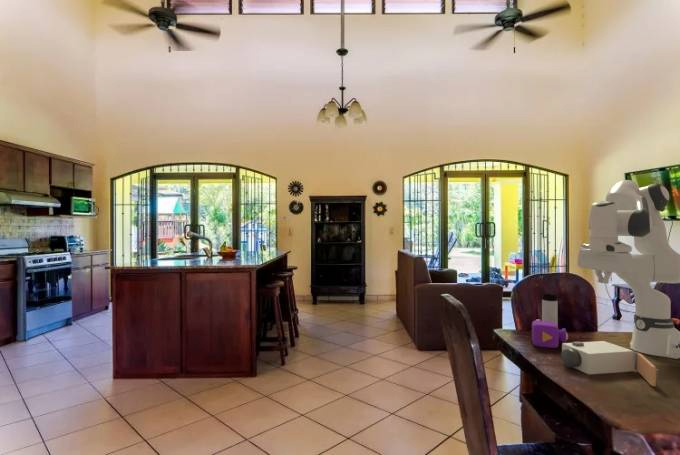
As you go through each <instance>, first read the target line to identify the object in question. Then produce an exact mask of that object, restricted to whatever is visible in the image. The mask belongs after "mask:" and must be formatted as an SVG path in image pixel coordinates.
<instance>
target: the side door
mask: <svg viewBox="0 0 680 455" xmlns="http://www.w3.org/2000/svg"><path fill="white" fill-rule="evenodd" d="M634 370H635V371H637V373H639V375H641V376H642V377H643V378H644V380H646V382H647V383H648V384H649V385H650V386H652V387H656V386H657V385H656V384H659V369H658V368H657V367H656V366H655V365H654V364H653V363H652V362H651V361H649V360H648V358H646V357H645V356H644V355H643V353H641V352H638V351H634V359H633V371H634Z"/></svg>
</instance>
